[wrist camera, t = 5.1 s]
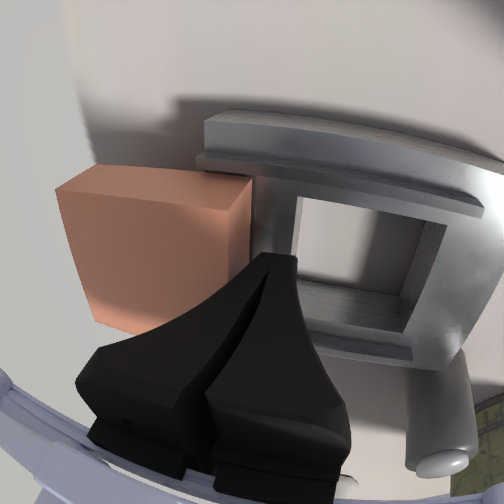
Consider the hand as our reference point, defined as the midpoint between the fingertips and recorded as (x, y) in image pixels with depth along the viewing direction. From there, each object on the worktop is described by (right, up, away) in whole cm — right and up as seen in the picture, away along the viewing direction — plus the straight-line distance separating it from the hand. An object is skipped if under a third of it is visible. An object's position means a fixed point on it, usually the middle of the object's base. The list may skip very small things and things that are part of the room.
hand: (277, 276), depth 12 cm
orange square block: (-4, +1, +1) cm, 5 cm away
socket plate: (+4, +1, +2) cm, 5 cm away
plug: (+10, -6, +5) cm, 13 cm away
